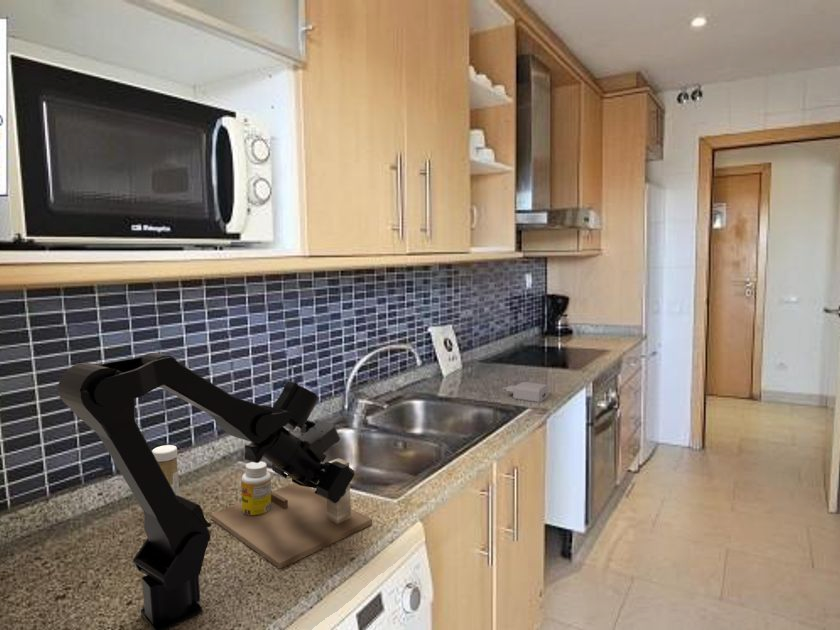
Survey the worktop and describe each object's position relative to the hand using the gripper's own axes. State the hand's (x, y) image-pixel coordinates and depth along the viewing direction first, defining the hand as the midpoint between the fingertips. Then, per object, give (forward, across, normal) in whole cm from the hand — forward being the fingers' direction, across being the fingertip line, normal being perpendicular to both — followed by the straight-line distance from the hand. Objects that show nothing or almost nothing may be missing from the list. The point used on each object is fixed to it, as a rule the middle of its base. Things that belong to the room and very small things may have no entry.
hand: (338, 491), depth 103 cm
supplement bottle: (-2, +15, +11) cm, 19 cm away
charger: (+75, +24, -66) cm, 102 cm away
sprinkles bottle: (-10, +29, +19) cm, 36 cm away
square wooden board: (0, +8, +9) cm, 12 cm away
